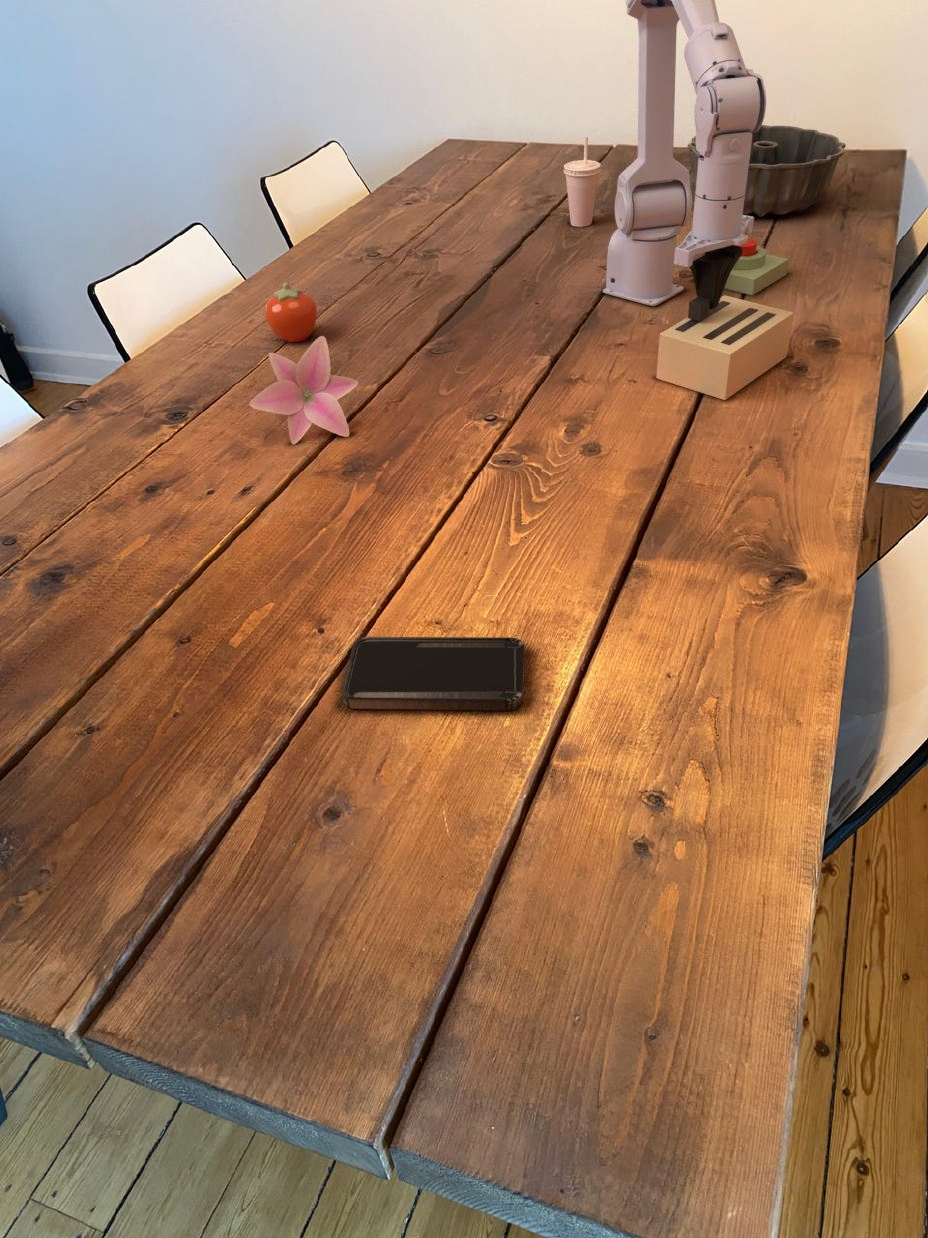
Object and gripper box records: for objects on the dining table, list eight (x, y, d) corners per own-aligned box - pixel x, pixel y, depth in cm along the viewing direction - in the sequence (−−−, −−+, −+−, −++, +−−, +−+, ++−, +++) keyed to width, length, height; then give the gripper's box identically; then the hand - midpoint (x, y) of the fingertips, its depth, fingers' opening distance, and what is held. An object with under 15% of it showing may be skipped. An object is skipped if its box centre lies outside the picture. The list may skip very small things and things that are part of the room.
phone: (522, 701, 76) (339, 698, 78) (522, 711, 77) (341, 708, 78) (524, 636, 82) (355, 635, 84) (524, 646, 83) (356, 645, 84)
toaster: (655, 378, 121) (659, 332, 117) (719, 338, 129) (724, 294, 125) (724, 400, 115) (730, 353, 111) (786, 356, 123) (794, 311, 119)
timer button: (726, 255, 142) (727, 243, 141) (738, 248, 144) (740, 236, 143) (747, 259, 140) (749, 248, 139) (760, 252, 142) (761, 240, 141)
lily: (245, 446, 116) (243, 399, 107) (272, 371, 121) (272, 321, 112) (340, 472, 117) (346, 428, 108) (364, 397, 122) (371, 349, 113)
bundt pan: (852, 189, 173) (864, 130, 167) (808, 234, 157) (819, 170, 150) (714, 175, 185) (720, 118, 179) (660, 215, 169) (664, 155, 162)
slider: (687, 318, 119) (689, 301, 118) (696, 313, 120) (698, 295, 119) (699, 321, 118) (701, 304, 117) (708, 316, 119) (710, 299, 118)
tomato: (330, 329, 139) (322, 275, 133) (303, 350, 134) (293, 295, 128) (288, 323, 141) (278, 270, 136) (260, 344, 136) (248, 289, 131)
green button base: (693, 281, 145) (696, 254, 142) (728, 261, 150) (731, 235, 147) (752, 295, 139) (756, 268, 137) (786, 274, 145) (790, 247, 142)
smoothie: (597, 229, 165) (600, 142, 156) (560, 228, 166) (561, 142, 157) (600, 217, 170) (603, 132, 161) (565, 217, 171) (566, 132, 162)
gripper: (716, 216, 105) (703, 333, 114) (782, 182, 113) (765, 294, 121) (662, 205, 109) (654, 319, 118) (729, 174, 117) (717, 283, 125)
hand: (707, 306), depth 120 cm, fingers closed
